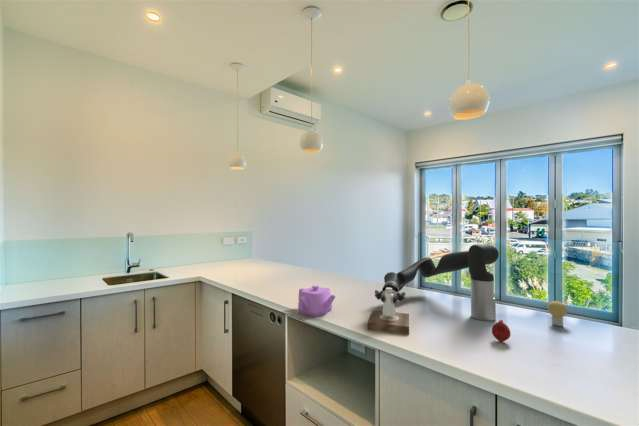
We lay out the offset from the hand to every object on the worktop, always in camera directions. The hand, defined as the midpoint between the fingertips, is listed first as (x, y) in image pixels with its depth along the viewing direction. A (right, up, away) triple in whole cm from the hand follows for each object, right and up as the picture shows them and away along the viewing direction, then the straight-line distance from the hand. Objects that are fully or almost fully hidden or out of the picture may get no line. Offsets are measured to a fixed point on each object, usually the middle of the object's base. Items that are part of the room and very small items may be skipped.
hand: (388, 300), depth 118 cm
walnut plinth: (+1, -11, +2) cm, 11 cm away
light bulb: (+72, -11, +2) cm, 73 cm away
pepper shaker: (+1, -7, +3) cm, 7 cm away
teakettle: (-30, -12, +19) cm, 38 cm away
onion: (+38, -11, -14) cm, 42 cm away
